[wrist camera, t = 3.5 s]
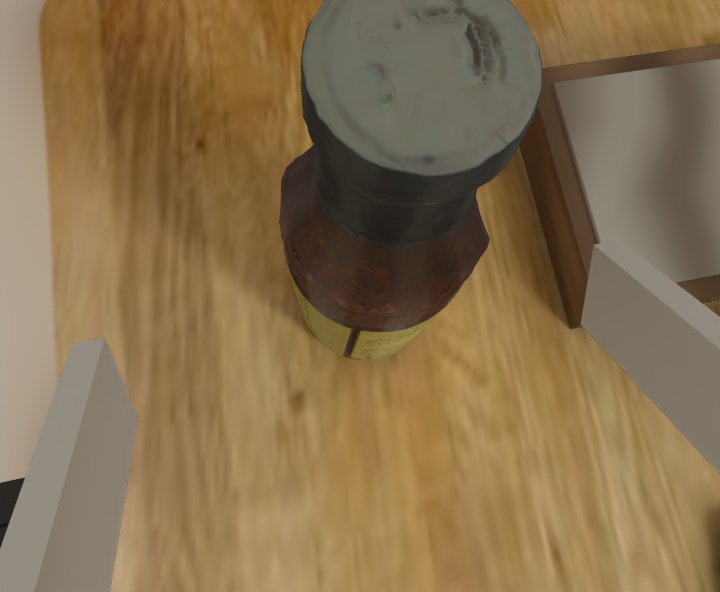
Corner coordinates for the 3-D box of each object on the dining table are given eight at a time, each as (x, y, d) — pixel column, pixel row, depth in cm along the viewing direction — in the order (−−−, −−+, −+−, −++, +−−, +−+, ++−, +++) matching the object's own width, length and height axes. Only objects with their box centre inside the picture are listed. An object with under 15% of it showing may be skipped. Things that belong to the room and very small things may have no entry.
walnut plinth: (717, 71, 33) (760, 35, 30) (793, 284, 31) (848, 269, 27) (508, 102, 31) (530, 67, 28) (570, 329, 29) (601, 319, 26)
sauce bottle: (436, 264, 29) (683, -29, 10) (402, 380, 28) (609, 308, 8) (316, 224, 29) (324, -152, 10) (275, 339, 28) (190, 169, 8)
